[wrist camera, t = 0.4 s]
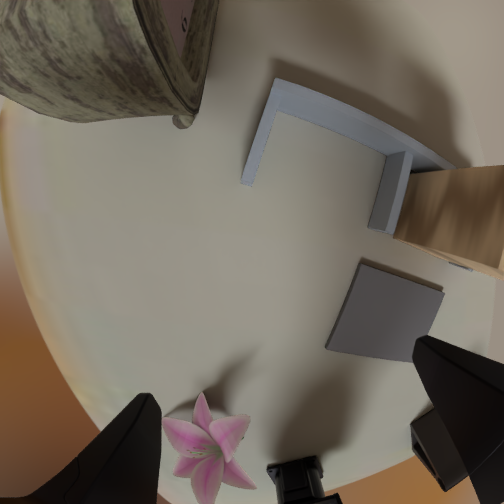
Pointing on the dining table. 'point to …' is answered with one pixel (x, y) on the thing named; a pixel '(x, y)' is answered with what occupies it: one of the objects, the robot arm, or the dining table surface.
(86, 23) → the tabletop clock
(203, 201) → the dining table surface
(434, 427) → the phone stand
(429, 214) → the oak block
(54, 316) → the dining table surface
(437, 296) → the rubber mat
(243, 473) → the lily
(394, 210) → the shelf
